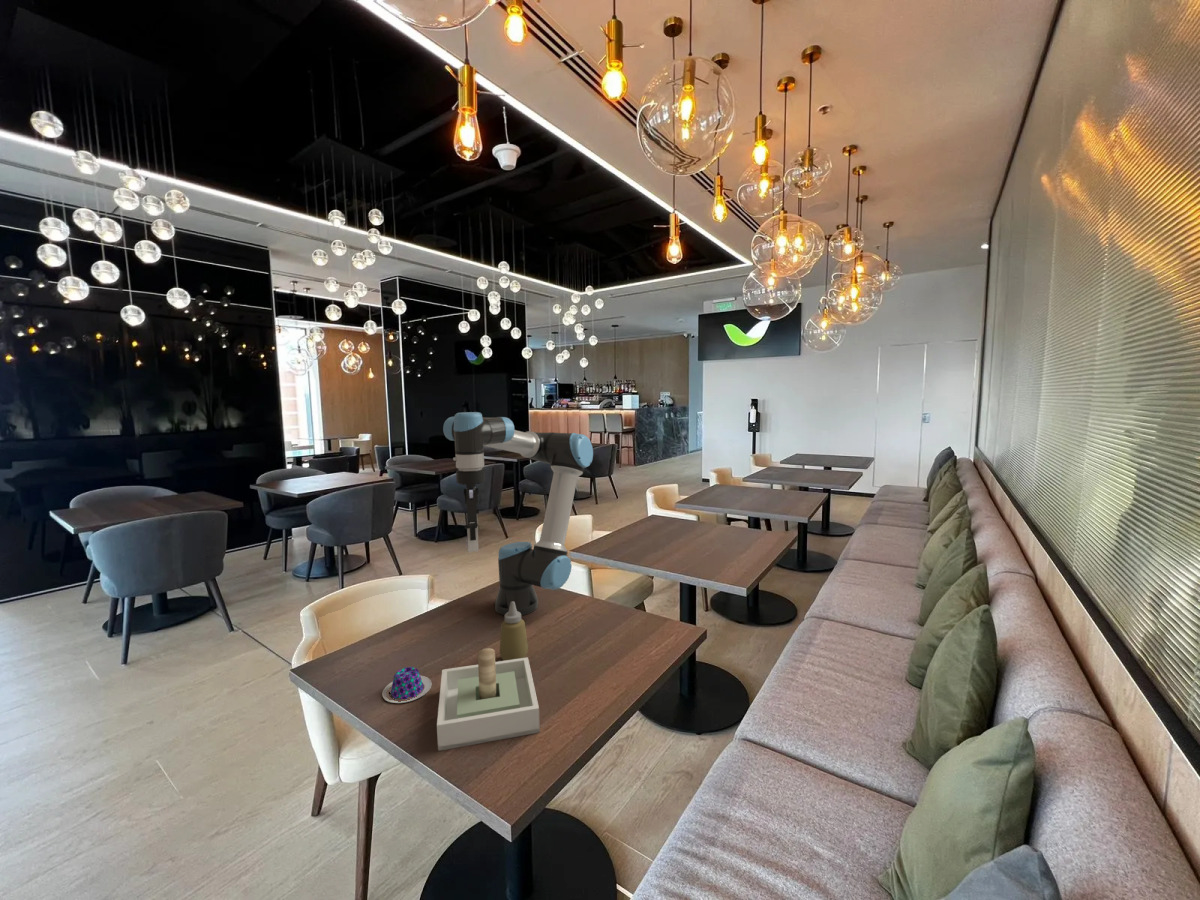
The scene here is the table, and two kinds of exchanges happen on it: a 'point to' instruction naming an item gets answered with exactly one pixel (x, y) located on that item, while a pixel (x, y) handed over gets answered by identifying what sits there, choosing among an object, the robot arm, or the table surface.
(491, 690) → the peg
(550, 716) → the table surface
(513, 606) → the squeeze bottle
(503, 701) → the bore plate
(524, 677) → the open box
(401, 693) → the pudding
